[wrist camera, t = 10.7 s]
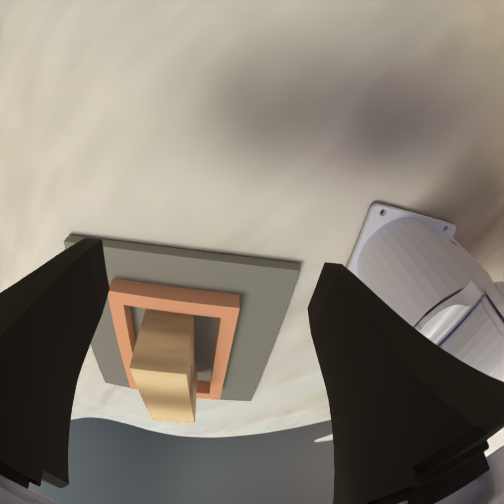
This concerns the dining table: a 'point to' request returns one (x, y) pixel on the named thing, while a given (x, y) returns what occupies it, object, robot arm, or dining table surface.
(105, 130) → the dining table surface
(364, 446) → the robot arm
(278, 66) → the dining table surface
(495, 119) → the dining table surface
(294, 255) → the dining table surface
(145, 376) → the oak block
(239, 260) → the socket plate
